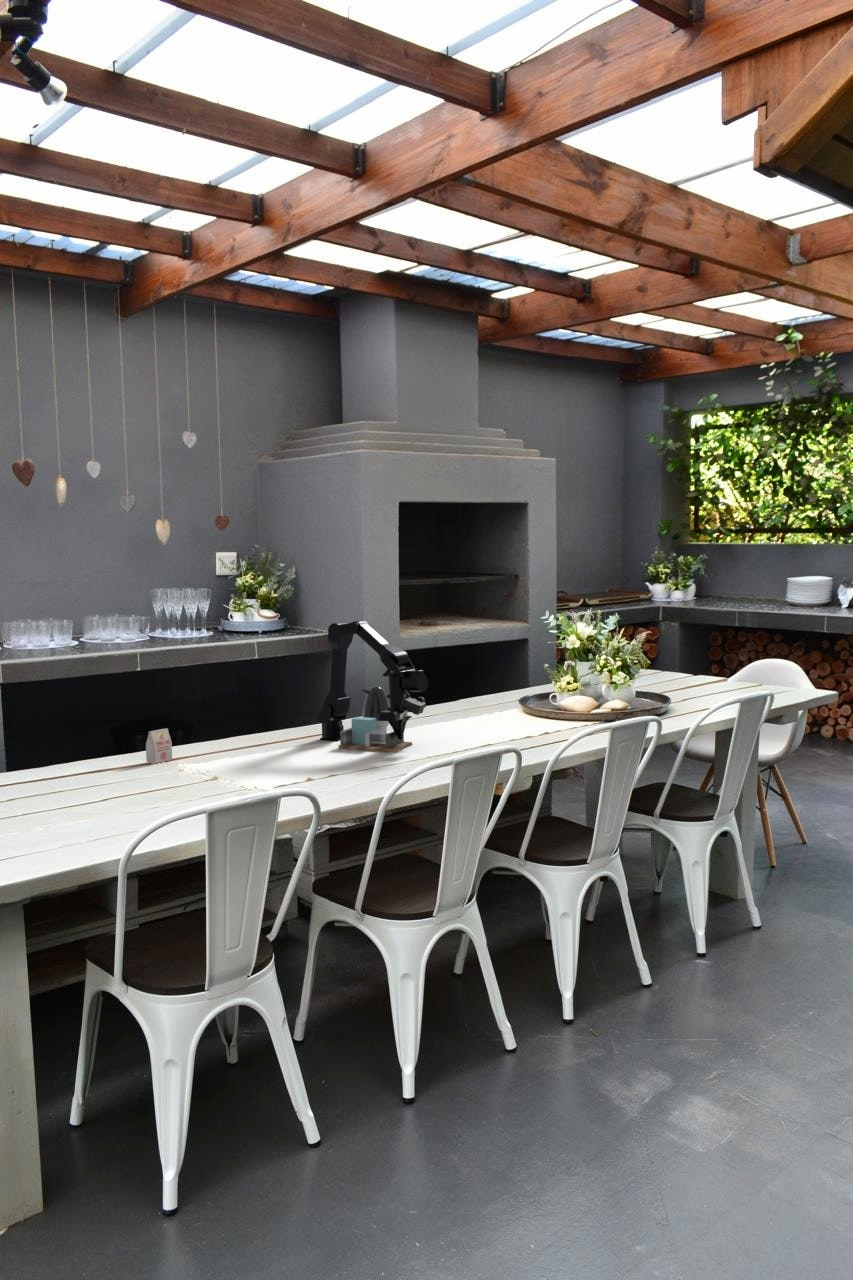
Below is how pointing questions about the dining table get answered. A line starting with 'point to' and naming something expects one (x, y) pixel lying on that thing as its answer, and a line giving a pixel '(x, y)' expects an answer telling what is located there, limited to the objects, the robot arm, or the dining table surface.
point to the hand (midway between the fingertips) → (400, 739)
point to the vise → (347, 744)
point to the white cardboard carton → (158, 746)
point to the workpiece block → (362, 728)
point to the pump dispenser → (375, 704)
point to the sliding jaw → (382, 738)
